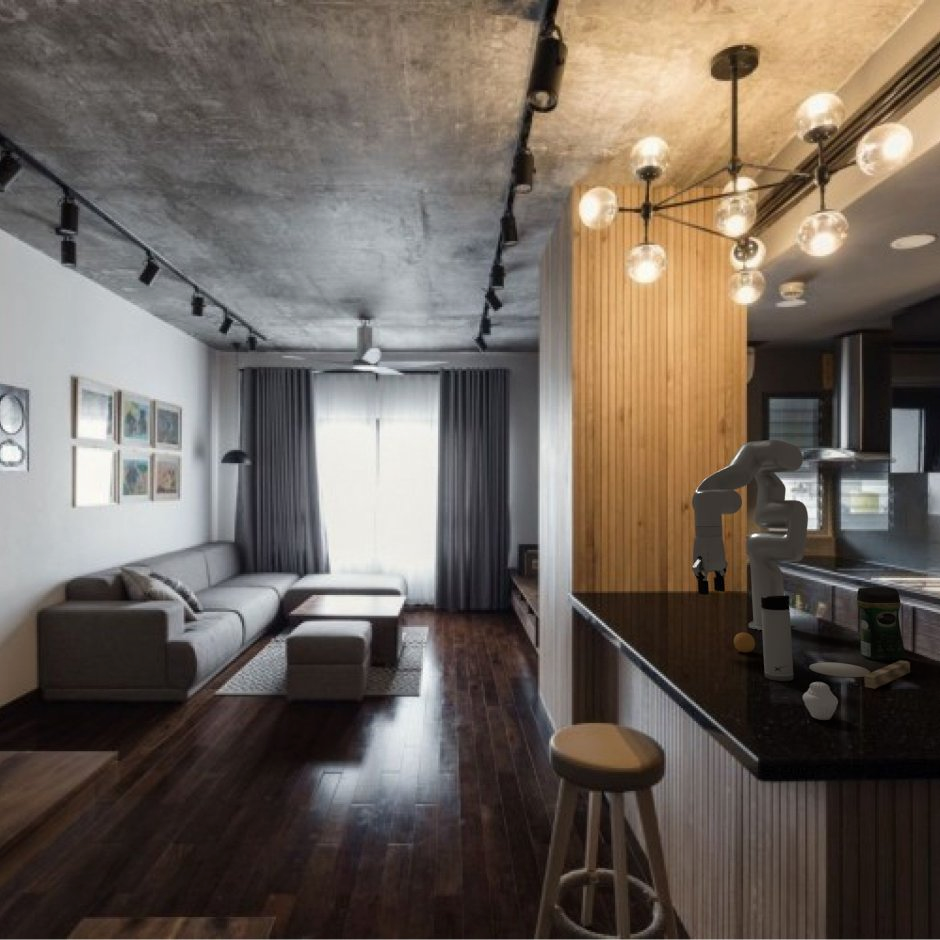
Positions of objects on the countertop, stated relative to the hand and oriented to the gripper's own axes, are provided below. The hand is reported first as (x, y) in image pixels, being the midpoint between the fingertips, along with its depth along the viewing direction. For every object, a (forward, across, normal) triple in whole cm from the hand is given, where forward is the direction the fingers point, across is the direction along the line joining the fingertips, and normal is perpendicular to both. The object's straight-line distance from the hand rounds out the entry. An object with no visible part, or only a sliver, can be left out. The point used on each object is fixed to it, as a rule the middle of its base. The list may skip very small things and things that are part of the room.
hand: (711, 592), depth 186 cm
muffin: (+16, +37, +48) cm, 62 cm away
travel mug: (+16, +17, +28) cm, 37 cm away
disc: (+16, 0, +34) cm, 38 cm away
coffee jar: (+16, -20, +36) cm, 45 cm away
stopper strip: (+16, 0, +46) cm, 48 cm away
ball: (+13, 0, +10) cm, 16 cm away
